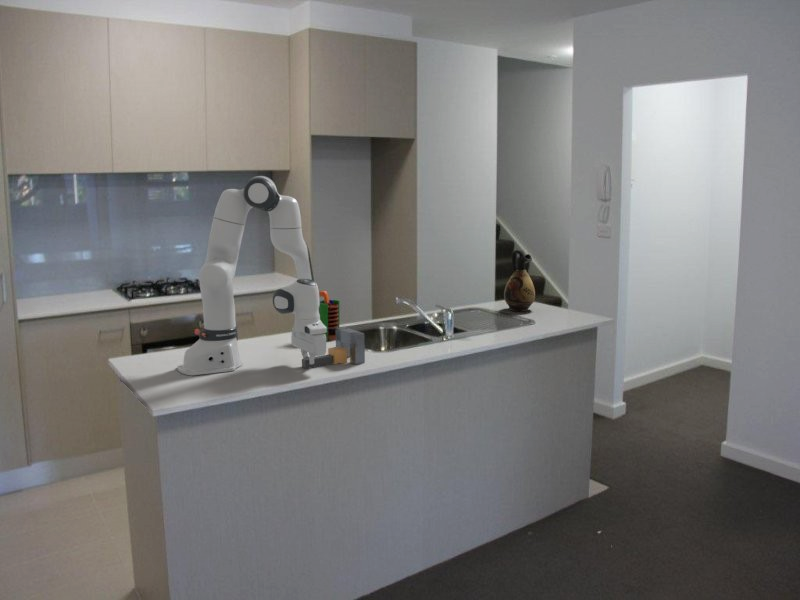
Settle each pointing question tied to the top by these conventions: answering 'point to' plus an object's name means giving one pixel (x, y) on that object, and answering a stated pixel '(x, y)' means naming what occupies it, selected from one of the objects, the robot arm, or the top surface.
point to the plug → (328, 357)
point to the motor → (329, 315)
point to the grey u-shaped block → (351, 344)
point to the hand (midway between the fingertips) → (308, 362)
